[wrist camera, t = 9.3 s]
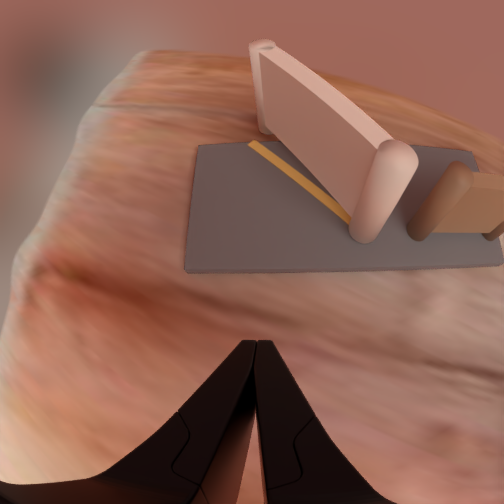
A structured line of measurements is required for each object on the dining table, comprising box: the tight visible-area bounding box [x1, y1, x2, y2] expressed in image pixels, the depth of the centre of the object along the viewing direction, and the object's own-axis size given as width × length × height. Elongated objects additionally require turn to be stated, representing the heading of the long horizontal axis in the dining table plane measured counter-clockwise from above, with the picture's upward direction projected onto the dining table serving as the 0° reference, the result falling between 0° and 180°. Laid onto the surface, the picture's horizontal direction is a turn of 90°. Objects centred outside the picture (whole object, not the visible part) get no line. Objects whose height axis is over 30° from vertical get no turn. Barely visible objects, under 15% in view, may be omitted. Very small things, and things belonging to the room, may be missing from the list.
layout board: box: [184, 140, 504, 273], centre depth 18 cm, size 23×10×8 cm, turn 89°
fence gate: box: [249, 39, 419, 244], centre depth 18 cm, size 12×2×8 cm, turn 33°
